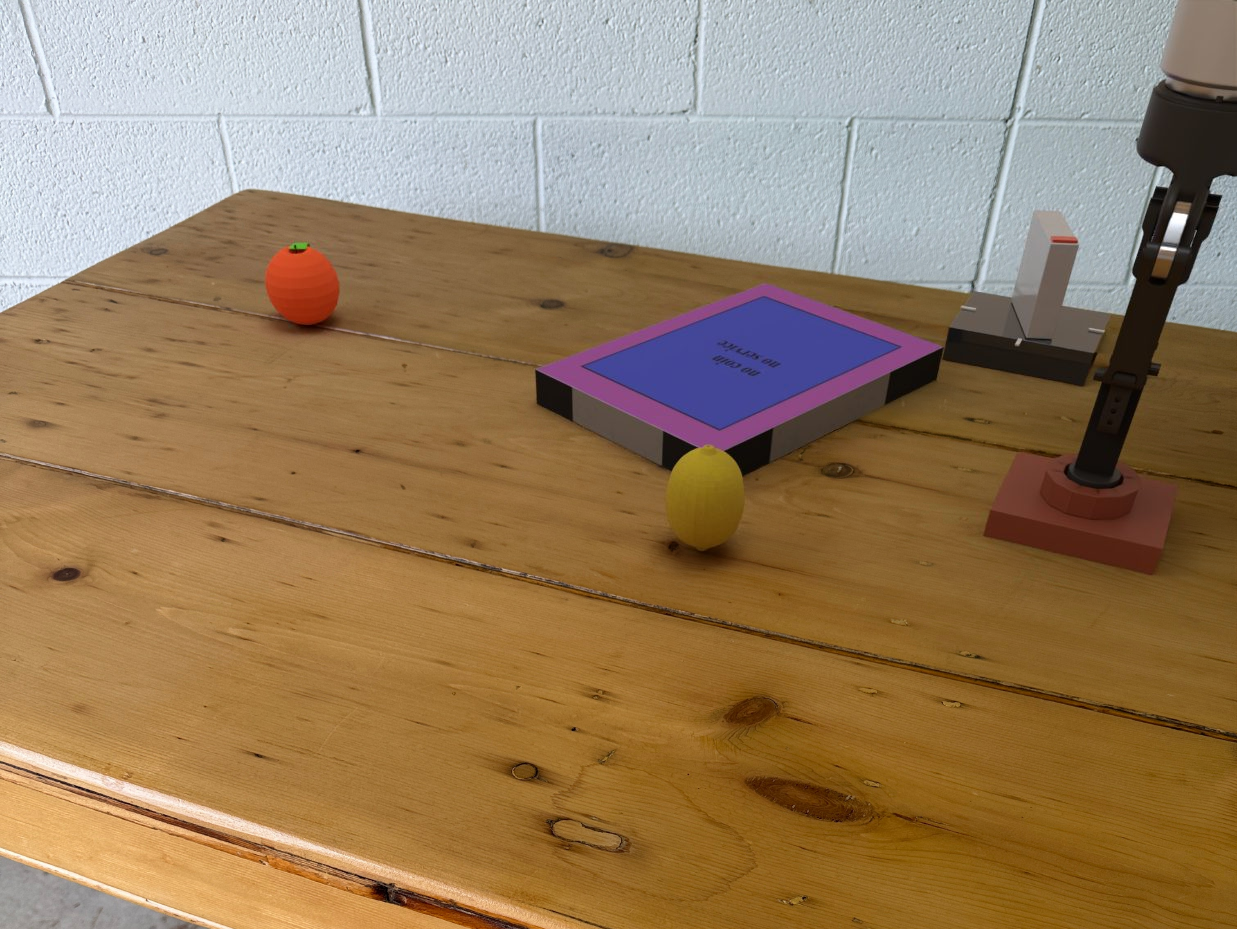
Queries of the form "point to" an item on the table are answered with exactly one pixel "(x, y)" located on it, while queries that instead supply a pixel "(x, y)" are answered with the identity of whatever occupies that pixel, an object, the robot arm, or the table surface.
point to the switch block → (1083, 513)
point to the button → (1093, 478)
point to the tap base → (1024, 340)
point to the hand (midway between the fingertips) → (1094, 467)
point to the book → (738, 378)
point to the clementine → (302, 284)
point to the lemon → (705, 497)
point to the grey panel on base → (1044, 273)
